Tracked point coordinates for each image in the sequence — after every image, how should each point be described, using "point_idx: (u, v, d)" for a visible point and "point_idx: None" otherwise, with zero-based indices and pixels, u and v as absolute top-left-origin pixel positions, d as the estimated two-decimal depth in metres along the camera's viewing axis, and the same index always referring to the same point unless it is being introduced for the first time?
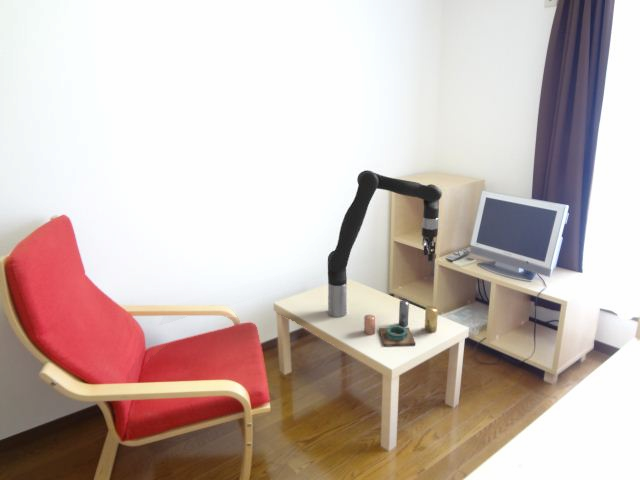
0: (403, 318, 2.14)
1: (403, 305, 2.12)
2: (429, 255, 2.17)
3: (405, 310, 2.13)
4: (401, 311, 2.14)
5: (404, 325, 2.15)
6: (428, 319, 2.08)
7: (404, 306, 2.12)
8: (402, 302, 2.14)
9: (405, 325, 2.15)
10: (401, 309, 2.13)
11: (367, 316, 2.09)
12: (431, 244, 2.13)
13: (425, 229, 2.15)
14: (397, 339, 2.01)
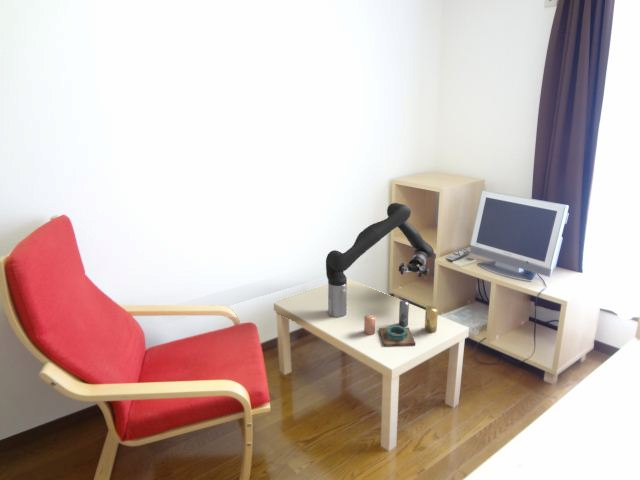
0: (403, 318, 2.14)
1: (403, 305, 2.12)
2: (421, 272, 2.21)
3: (405, 310, 2.13)
4: (401, 311, 2.14)
5: (404, 325, 2.15)
6: (428, 319, 2.08)
7: (404, 306, 2.12)
8: (402, 302, 2.14)
9: (405, 325, 2.15)
10: (401, 309, 2.13)
11: (367, 316, 2.09)
12: None
13: (422, 259, 2.32)
14: (397, 339, 2.01)
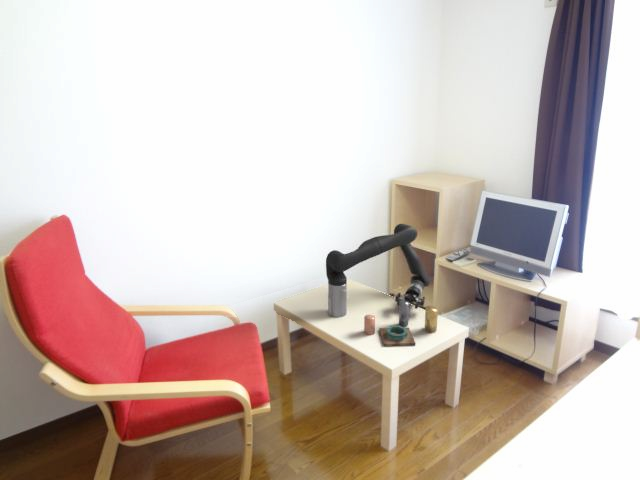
0: (403, 318, 2.14)
1: (403, 305, 2.12)
2: (418, 303, 2.22)
3: (405, 310, 2.13)
4: (401, 311, 2.14)
5: (404, 325, 2.15)
6: (428, 319, 2.08)
7: (404, 306, 2.12)
8: (402, 302, 2.14)
9: (405, 325, 2.15)
10: (401, 309, 2.13)
11: (367, 316, 2.09)
12: (424, 298, 2.27)
13: (418, 288, 2.33)
14: (397, 339, 2.01)
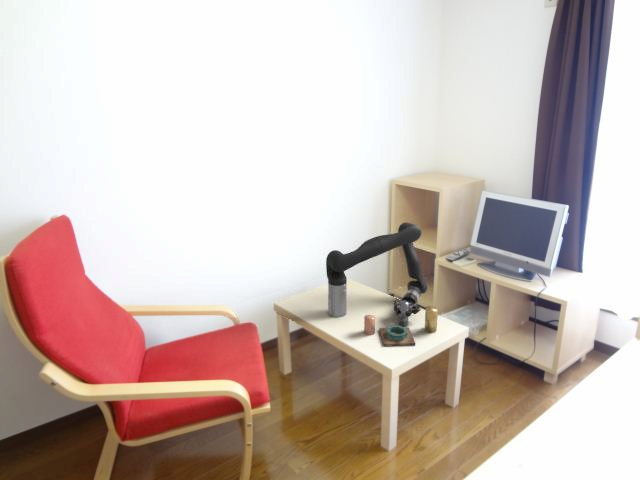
0: (403, 318, 2.14)
1: (403, 305, 2.12)
2: (410, 311, 2.14)
3: (405, 310, 2.13)
4: (401, 311, 2.14)
5: (404, 325, 2.15)
6: (428, 319, 2.08)
7: (404, 306, 2.12)
8: (402, 302, 2.14)
9: (405, 325, 2.15)
10: (401, 309, 2.13)
11: (367, 316, 2.09)
12: (420, 307, 2.18)
13: (415, 295, 2.25)
14: (397, 339, 2.01)
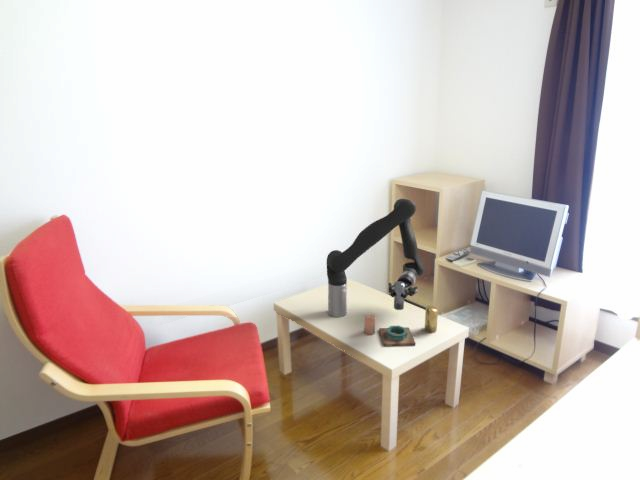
0: (399, 300, 1.99)
1: (399, 286, 1.97)
2: (406, 293, 1.99)
3: (401, 292, 1.98)
4: (396, 293, 1.99)
5: (400, 308, 2.00)
6: (428, 319, 2.08)
7: (400, 287, 1.97)
8: (397, 283, 1.99)
9: (401, 308, 2.01)
10: (396, 291, 1.98)
11: (367, 316, 2.09)
12: (416, 288, 2.03)
13: (411, 277, 2.10)
14: (397, 339, 2.01)
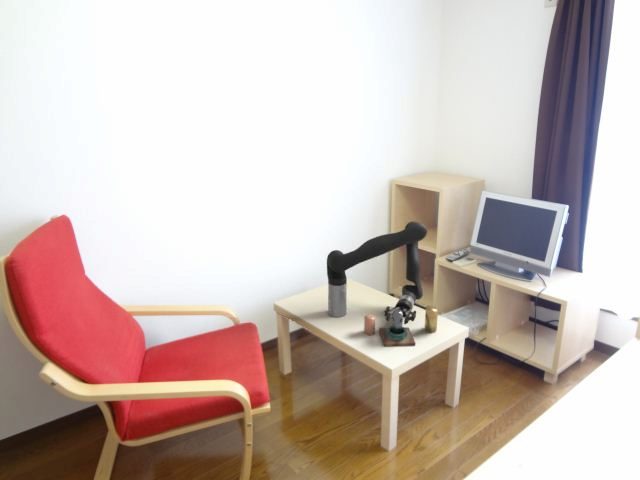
0: (397, 328, 2.03)
1: (397, 314, 2.00)
2: (408, 318, 2.02)
3: (399, 320, 2.01)
4: (394, 321, 2.02)
5: None
6: (428, 319, 2.08)
7: (398, 316, 2.01)
8: (395, 311, 2.02)
9: None
10: (394, 319, 2.02)
11: (367, 316, 2.09)
12: (415, 313, 2.07)
13: (409, 301, 2.13)
14: (397, 339, 2.01)
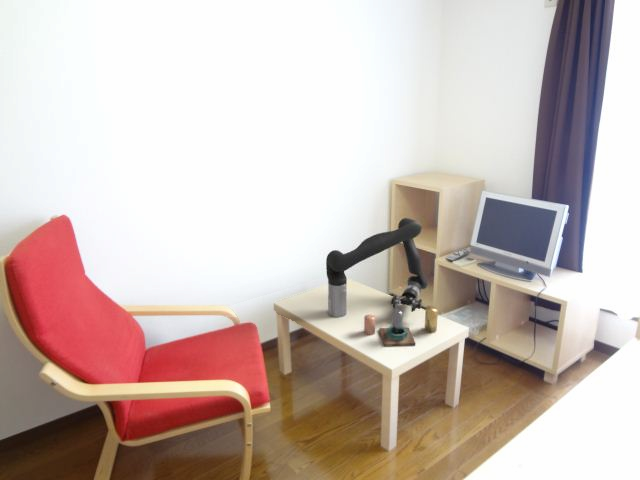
0: (397, 328, 2.03)
1: (397, 314, 2.01)
2: (414, 306, 2.13)
3: (399, 320, 2.01)
4: (394, 321, 2.02)
5: None
6: (428, 319, 2.08)
7: (398, 316, 2.01)
8: (395, 311, 2.02)
9: None
10: (394, 319, 2.02)
11: (367, 316, 2.09)
12: (421, 301, 2.18)
13: (415, 291, 2.24)
14: (397, 339, 2.01)
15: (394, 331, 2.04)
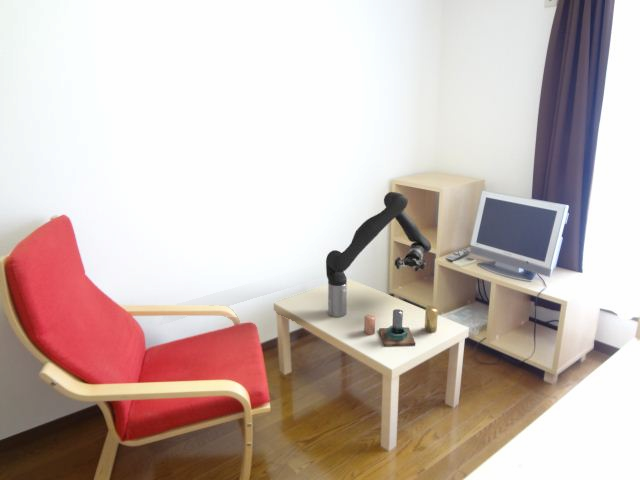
0: (397, 328, 2.03)
1: (397, 314, 2.01)
2: (418, 266, 2.13)
3: (399, 320, 2.01)
4: (394, 321, 2.02)
5: None
6: (428, 319, 2.08)
7: (398, 315, 2.01)
8: (396, 311, 2.02)
9: None
10: (395, 319, 2.02)
11: (367, 316, 2.09)
12: (425, 262, 2.17)
13: (419, 253, 2.24)
14: (397, 339, 2.01)
15: (394, 331, 2.04)
